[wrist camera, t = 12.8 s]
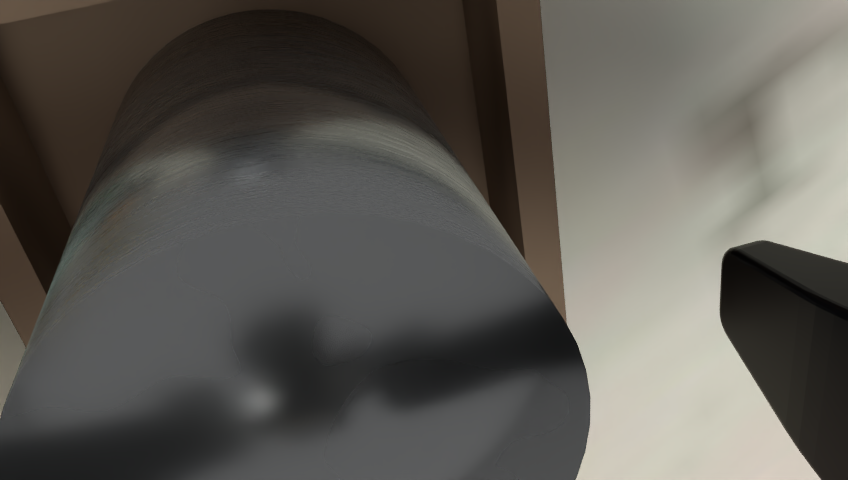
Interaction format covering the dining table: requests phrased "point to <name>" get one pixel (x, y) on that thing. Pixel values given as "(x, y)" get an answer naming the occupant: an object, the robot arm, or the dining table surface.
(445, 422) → the cylinder
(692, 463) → the dining table surface
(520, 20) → the walnut pallet
